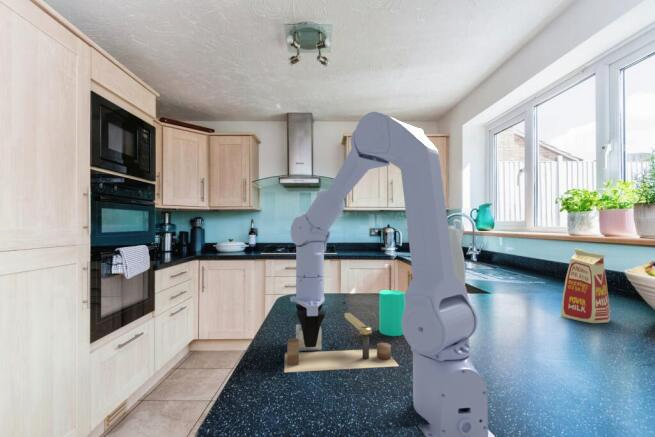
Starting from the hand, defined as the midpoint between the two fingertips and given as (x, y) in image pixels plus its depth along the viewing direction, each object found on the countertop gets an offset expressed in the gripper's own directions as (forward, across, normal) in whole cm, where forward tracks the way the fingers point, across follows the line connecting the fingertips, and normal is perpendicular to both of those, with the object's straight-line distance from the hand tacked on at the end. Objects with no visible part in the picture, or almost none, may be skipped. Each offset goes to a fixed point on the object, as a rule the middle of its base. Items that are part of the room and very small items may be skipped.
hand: (309, 342), depth 62 cm
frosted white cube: (+1, 0, 0) cm, 1 cm away
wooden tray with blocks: (+2, +7, +5) cm, 9 cm away
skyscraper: (+2, -12, +38) cm, 40 cm away
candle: (+2, -7, +20) cm, 21 cm away
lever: (-4, +2, +9) cm, 10 cm away
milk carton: (+2, -15, +81) cm, 82 cm away
